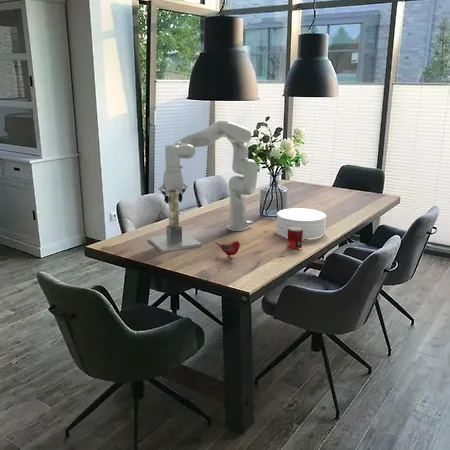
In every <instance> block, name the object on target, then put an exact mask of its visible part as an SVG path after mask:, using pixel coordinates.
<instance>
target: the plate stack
mask: <svg viewBox="0 0 450 450" xmlns="http://www.w3.org/2000/svg"><path fill="white" fill-rule="evenodd" d="M326 222H327V214H326V213H324V212H322V211H320V210H316V209H311V208H301V207H293V208H290V207H289V208H284V209H281V210H279V211H277V212H276V231H275V232H277V233H278V234H279V235H281V236H284V237H288V227H290V226H299V227H302V228H303V238H302V239H309V238H316V237H319V236H321V235H323V234H324V232H325V233H326ZM277 233H276V234H277ZM278 234H277V235H278ZM279 235H278V236H279ZM281 236H280V237H281ZM284 237H283V238H284Z"/></svg>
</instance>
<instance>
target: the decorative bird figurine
mask: <svg viewBox="0 0 450 450" xmlns="http://www.w3.org/2000/svg"><path fill="white" fill-rule="evenodd" d="M214 243H215V244H216V245H218V246H219V247H220V248H221V250H222V252H224V253H225V254H226V256H227V258H228V259H235V258H234V257H232V256H235V255H236V254H237V253H238V251H239V249H240V247H241V245H240V242H239V241H238V240H235V241H232V242H231V243H225V244H224V243H223V244H221V243H219V242H217V241H214Z"/></svg>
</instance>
